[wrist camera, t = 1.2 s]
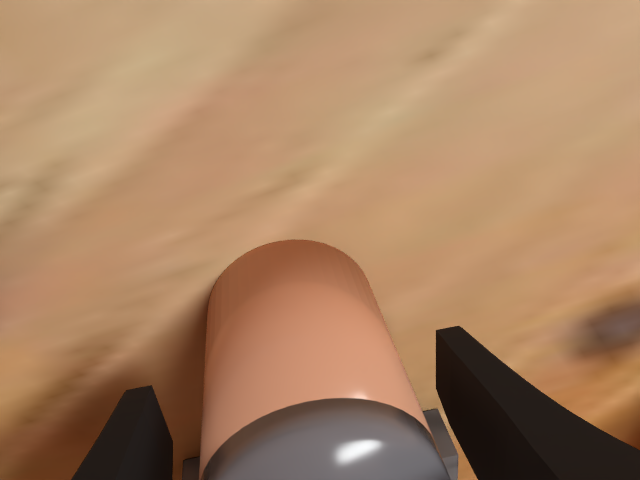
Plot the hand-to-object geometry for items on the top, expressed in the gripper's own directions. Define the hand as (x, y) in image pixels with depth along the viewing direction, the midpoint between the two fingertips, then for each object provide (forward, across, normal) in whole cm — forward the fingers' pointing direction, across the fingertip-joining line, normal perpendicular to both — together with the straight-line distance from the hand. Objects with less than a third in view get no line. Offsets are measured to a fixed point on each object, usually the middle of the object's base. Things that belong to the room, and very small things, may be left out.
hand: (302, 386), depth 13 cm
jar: (+3, 0, 0) cm, 3 cm away
